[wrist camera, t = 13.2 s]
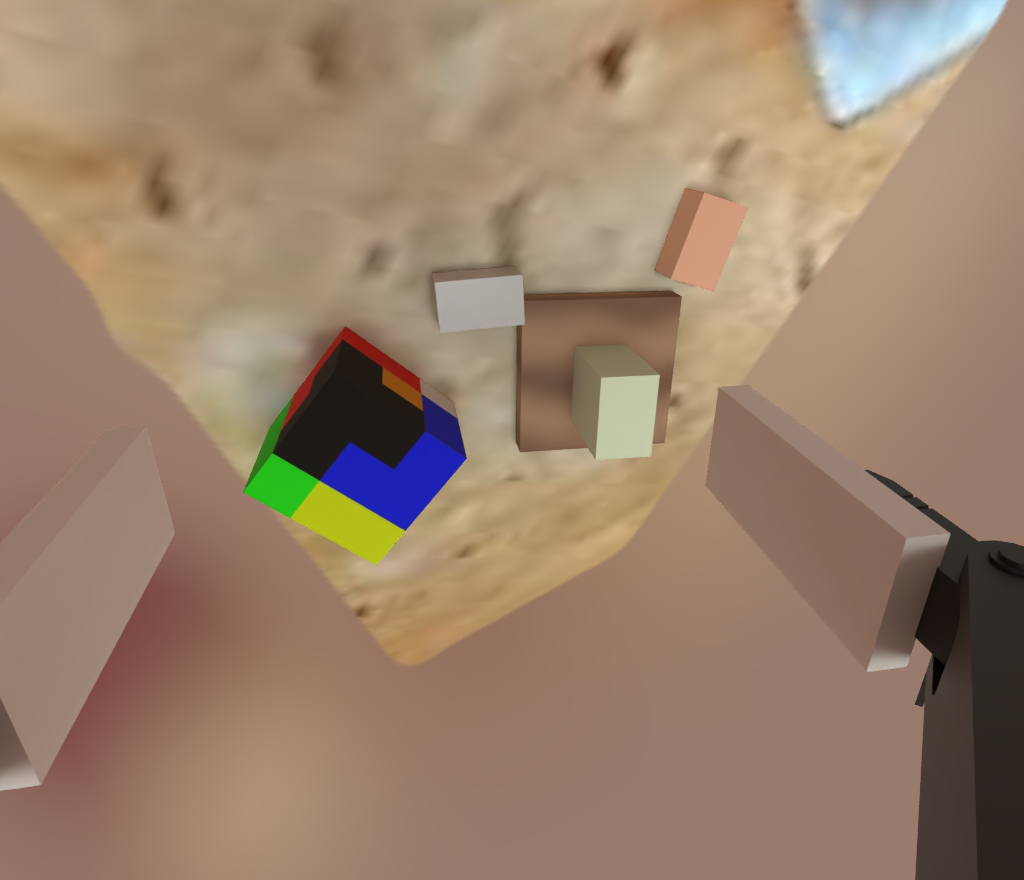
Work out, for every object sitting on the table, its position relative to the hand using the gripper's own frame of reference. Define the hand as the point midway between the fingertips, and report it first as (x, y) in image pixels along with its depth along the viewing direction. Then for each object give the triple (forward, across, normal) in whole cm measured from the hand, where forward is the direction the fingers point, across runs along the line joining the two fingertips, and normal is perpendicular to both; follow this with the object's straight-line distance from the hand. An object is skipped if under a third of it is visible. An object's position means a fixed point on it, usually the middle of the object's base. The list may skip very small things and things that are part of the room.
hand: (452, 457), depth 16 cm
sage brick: (+32, +13, -11) cm, 37 cm away
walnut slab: (+34, +13, -10) cm, 38 cm away
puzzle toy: (+35, -5, -13) cm, 37 cm away
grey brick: (+35, +4, -4) cm, 35 cm away
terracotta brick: (+35, +20, -1) cm, 40 cm away
